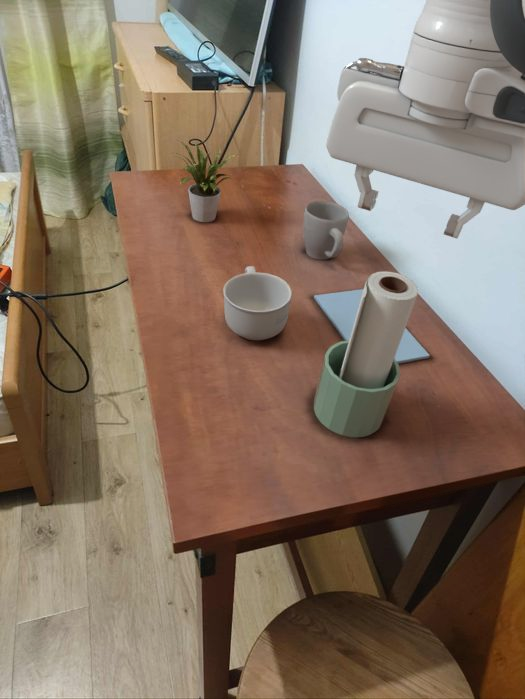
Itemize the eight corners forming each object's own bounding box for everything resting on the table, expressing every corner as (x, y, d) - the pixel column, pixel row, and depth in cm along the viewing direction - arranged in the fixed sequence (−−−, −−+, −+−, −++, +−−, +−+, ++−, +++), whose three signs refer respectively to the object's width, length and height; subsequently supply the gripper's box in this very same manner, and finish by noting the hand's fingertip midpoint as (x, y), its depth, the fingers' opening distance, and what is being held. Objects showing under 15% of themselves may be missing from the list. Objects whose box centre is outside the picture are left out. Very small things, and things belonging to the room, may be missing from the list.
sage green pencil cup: (391, 403, 75) (408, 357, 70) (369, 448, 68) (387, 402, 63) (329, 376, 78) (341, 331, 72) (302, 417, 71) (313, 371, 65)
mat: (428, 358, 84) (430, 355, 84) (366, 369, 80) (367, 367, 80) (369, 290, 98) (370, 287, 98) (313, 297, 94) (314, 295, 94)
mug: (291, 244, 109) (298, 201, 102) (329, 241, 111) (338, 199, 105) (313, 274, 100) (322, 230, 94) (353, 270, 103) (364, 227, 97)
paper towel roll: (369, 393, 76) (411, 271, 62) (377, 424, 72) (425, 300, 58) (322, 390, 75) (354, 267, 62) (327, 422, 71) (363, 295, 57)
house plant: (152, 216, 111) (149, 140, 101) (189, 196, 121) (190, 125, 110) (206, 237, 107) (209, 160, 96) (240, 214, 117) (246, 142, 106)
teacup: (285, 352, 82) (293, 312, 76) (218, 346, 81) (220, 305, 76) (284, 302, 92) (290, 264, 87) (224, 296, 92) (227, 257, 86)
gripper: (332, 57, 46) (306, 202, 55) (571, 112, 40) (499, 264, 49) (355, 49, 50) (328, 184, 59) (574, 97, 44) (507, 239, 53)
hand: (407, 220), depth 54 cm, fingers open, 8 cm apart
